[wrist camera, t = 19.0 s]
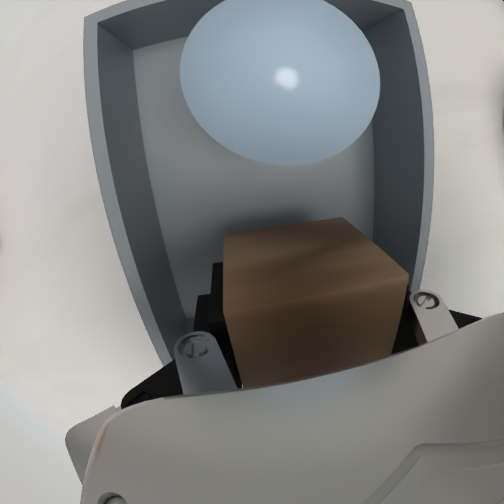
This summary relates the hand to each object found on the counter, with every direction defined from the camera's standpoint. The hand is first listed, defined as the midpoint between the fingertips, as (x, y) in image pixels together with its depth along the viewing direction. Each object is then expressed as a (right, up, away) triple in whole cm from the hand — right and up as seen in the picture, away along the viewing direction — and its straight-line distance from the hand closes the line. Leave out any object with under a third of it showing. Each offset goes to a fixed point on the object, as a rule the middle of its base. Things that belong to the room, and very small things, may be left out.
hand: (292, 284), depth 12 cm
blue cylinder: (-1, +9, 0) cm, 9 cm away
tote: (-1, +5, +2) cm, 6 cm away
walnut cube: (0, 0, 0) cm, 1 cm away
